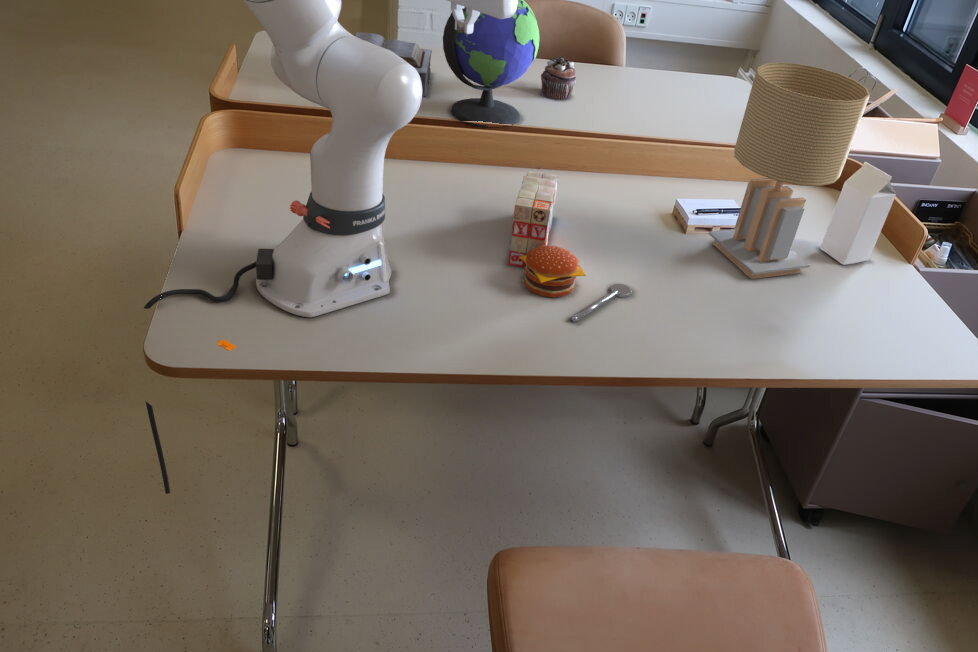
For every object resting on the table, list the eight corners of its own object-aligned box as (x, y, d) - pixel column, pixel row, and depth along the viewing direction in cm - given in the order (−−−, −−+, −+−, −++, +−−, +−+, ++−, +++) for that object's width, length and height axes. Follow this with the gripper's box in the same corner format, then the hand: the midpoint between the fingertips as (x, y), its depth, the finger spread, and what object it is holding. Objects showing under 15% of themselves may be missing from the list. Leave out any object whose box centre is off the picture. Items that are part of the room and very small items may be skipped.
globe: (511, 139, 197) (526, 7, 179) (426, 117, 201) (432, -14, 183) (541, 111, 214) (557, -12, 196) (462, 92, 218) (471, -30, 200)
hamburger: (557, 266, 151) (563, 234, 147) (584, 294, 144) (590, 261, 140) (512, 274, 146) (516, 241, 142) (537, 303, 140) (543, 269, 136)
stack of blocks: (522, 213, 166) (529, 155, 159) (552, 218, 166) (561, 161, 159) (507, 265, 149) (514, 203, 141) (541, 270, 149) (550, 209, 141)
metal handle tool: (581, 327, 136) (582, 322, 135) (563, 317, 137) (564, 312, 137) (634, 292, 147) (635, 287, 146) (618, 284, 148) (619, 279, 148)
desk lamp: (688, 238, 166) (734, 62, 145) (766, 231, 174) (821, 62, 153) (742, 289, 152) (802, 103, 132) (825, 279, 160) (894, 100, 139)
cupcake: (579, 96, 228) (585, 59, 222) (561, 104, 221) (567, 66, 215) (550, 86, 231) (555, 49, 225) (532, 93, 224) (536, 56, 218)
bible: (348, 58, 228) (347, 21, 222) (443, 75, 227) (445, 38, 221) (317, 84, 209) (316, 44, 203) (421, 102, 208) (422, 63, 202)
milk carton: (843, 266, 165) (878, 178, 154) (819, 248, 170) (851, 162, 159) (868, 261, 168) (904, 175, 157) (844, 244, 173) (877, 159, 162)
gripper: (412, -66, 141) (409, 18, 150) (502, -38, 132) (494, 50, 141) (438, -68, 146) (434, 14, 154) (527, -41, 137) (518, 44, 145)
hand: (463, 31), depth 147 cm, fingers closed
